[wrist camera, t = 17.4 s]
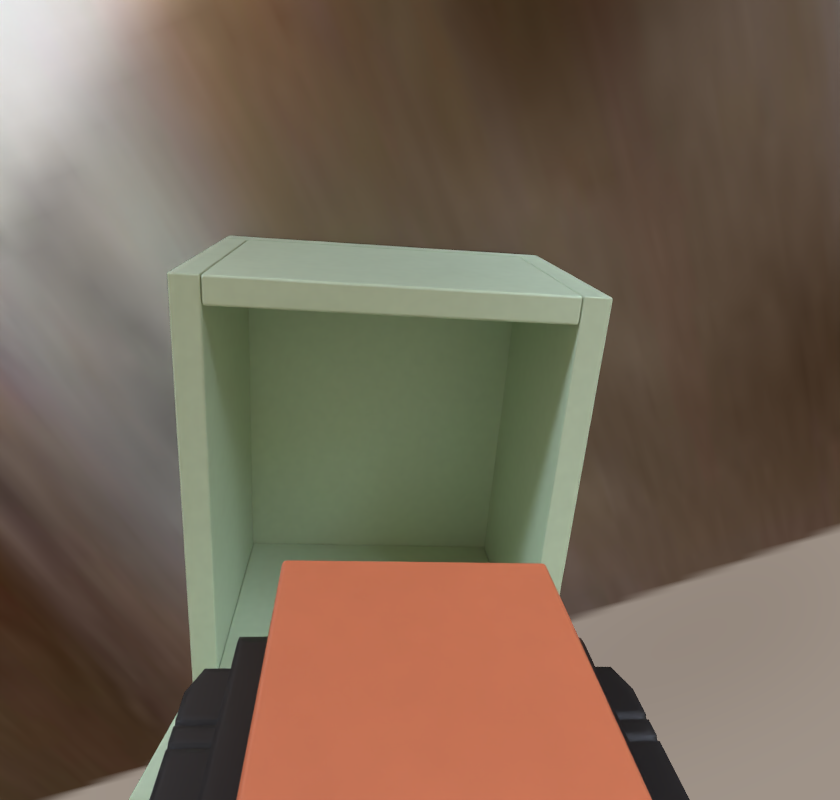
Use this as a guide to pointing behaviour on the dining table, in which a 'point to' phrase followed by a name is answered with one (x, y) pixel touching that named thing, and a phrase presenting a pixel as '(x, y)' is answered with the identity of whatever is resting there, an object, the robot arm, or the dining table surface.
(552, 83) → the dining table surface
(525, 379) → the chest
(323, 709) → the block
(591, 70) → the dining table surface
